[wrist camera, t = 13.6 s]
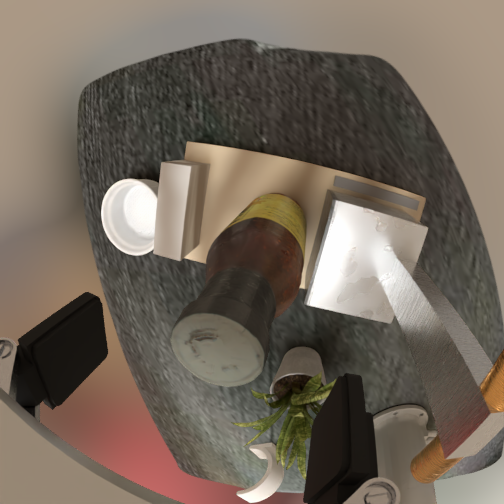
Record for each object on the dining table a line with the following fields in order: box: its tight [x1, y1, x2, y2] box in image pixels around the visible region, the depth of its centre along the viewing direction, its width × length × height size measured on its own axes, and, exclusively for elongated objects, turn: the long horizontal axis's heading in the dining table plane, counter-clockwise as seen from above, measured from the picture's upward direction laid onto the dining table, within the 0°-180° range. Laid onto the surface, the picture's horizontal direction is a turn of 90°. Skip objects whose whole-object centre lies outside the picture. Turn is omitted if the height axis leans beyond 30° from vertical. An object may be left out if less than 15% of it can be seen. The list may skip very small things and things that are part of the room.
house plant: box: [231, 347, 337, 480], centre depth 29 cm, size 14×14×16 cm
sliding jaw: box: [304, 189, 504, 484], centre depth 17 cm, size 8×9×23 cm
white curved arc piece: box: [237, 442, 284, 503], centre depth 40 cm, size 5×6×12 cm
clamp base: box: [153, 142, 426, 289], centre depth 27 cm, size 26×13×7 cm, turn 80°
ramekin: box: [101, 179, 159, 255], centre depth 32 cm, size 9×9×4 cm
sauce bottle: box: [171, 193, 307, 386], centre depth 20 cm, size 7×6×20 cm
